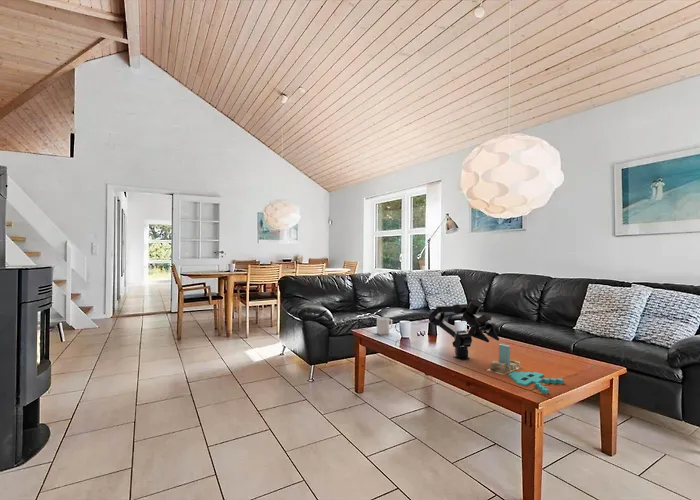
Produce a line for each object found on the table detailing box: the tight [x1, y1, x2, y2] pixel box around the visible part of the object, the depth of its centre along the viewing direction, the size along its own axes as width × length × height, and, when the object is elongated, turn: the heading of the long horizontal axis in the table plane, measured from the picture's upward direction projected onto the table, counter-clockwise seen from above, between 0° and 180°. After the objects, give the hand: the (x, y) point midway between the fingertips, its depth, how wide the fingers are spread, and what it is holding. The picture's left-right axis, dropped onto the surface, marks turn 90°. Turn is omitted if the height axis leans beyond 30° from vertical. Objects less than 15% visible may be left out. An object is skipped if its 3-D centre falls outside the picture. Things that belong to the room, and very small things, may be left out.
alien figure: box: [507, 370, 565, 395], centre depth 173 cm, size 20×2×20 cm
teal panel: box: [498, 343, 511, 366], centre depth 189 cm, size 5×2×12 cm, turn 40°
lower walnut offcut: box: [489, 365, 508, 374], centre depth 185 cm, size 7×4×2 cm, turn 40°
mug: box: [376, 316, 393, 336], centre depth 265 cm, size 12×9×11 cm
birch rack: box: [487, 359, 522, 376], centre depth 189 cm, size 9×18×4 cm, turn 130°
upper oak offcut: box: [490, 360, 506, 369], centre depth 185 cm, size 6×4×2 cm, turn 46°
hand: (493, 340), depth 192 cm, fingers open, 9 cm apart
